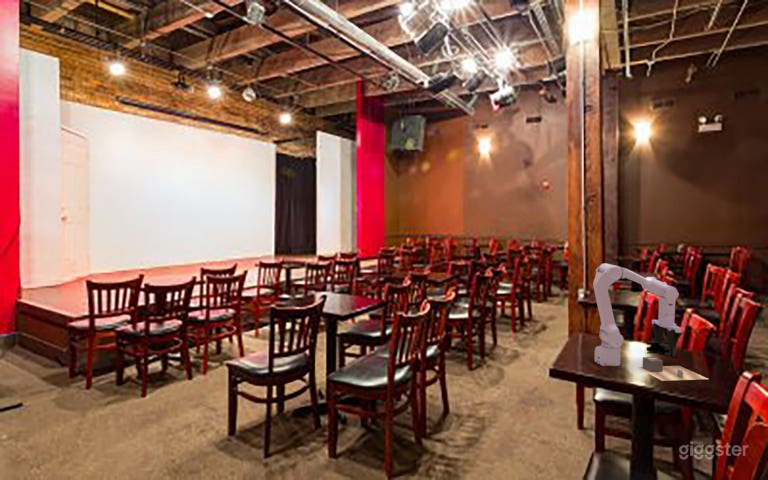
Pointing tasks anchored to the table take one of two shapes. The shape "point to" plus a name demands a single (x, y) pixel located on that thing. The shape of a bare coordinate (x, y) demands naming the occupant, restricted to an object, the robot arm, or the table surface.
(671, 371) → the board
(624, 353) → the table surface
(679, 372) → the post
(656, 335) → the robot arm
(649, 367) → the grey cube
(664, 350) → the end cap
